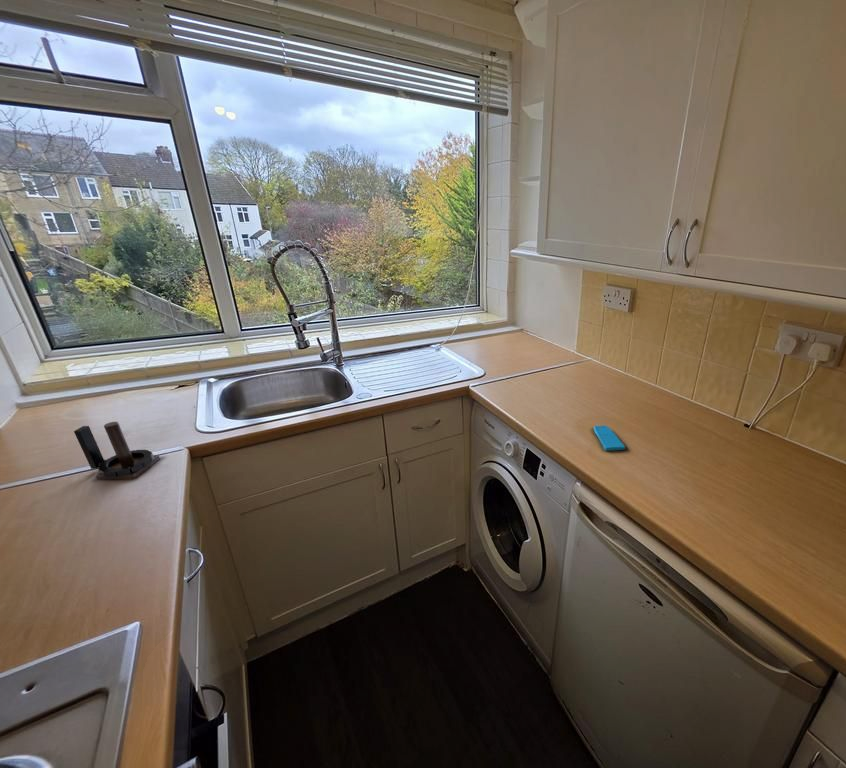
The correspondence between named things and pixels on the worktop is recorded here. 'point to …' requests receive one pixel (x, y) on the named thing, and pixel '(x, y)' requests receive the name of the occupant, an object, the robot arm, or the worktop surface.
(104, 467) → the ring
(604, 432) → the sponge
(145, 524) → the worktop surface
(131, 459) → the peg stand
